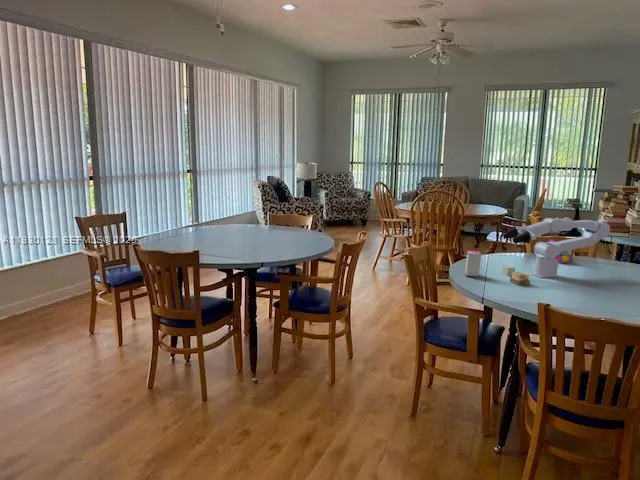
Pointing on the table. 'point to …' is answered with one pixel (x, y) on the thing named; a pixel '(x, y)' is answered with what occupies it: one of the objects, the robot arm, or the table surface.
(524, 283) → the tower base
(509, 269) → the top block
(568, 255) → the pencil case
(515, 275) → the tower mid
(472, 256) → the supplement box
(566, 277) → the table surface
